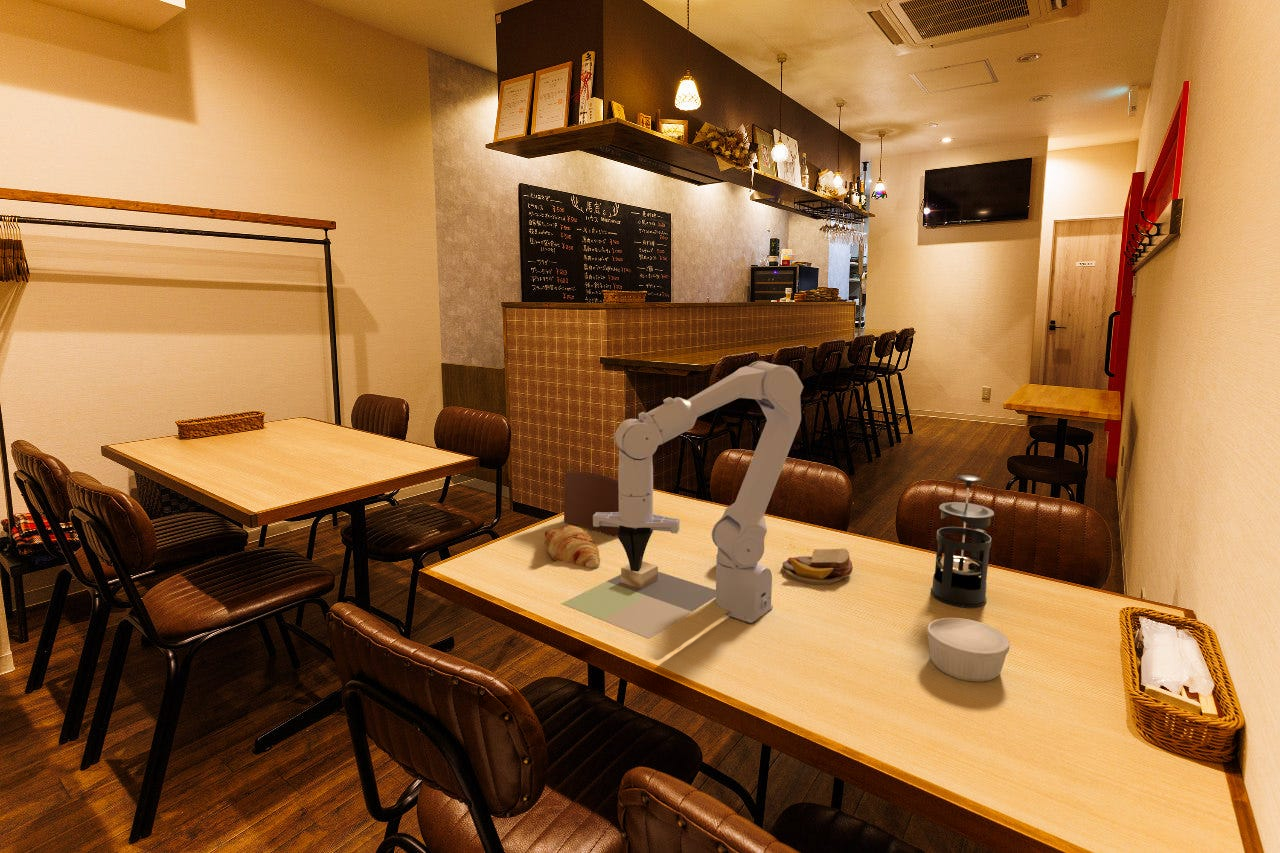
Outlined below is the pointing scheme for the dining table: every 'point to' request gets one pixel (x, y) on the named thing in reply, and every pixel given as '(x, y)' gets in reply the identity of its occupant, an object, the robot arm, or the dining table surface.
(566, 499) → the letter holder
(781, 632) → the dining table surface
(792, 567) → the toy sandwich meal
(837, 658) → the dining table surface
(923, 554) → the dining table surface
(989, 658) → the ramekin
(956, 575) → the french press
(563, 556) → the croissant
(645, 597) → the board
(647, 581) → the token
